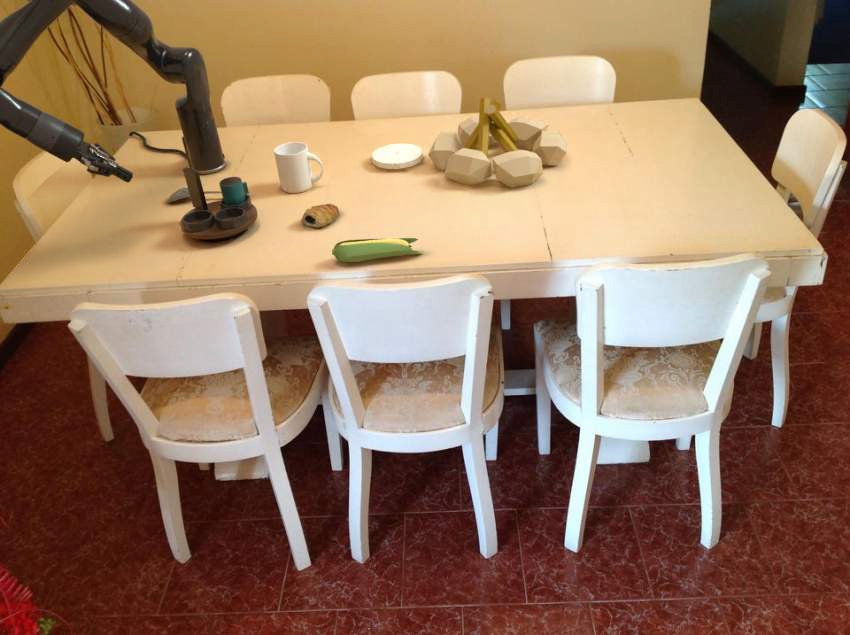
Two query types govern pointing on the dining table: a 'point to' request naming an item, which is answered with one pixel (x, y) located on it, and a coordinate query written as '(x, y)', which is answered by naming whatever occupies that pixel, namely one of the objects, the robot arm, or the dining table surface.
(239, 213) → the cup holder
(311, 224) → the pastry
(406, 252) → the edible corn
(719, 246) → the dining table surface
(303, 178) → the mug
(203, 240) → the carousel base
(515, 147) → the campfire
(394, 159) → the plastic lid
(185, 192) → the soupspoon
